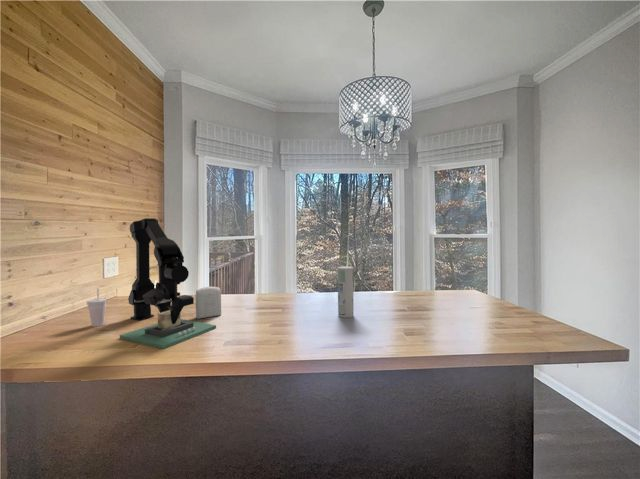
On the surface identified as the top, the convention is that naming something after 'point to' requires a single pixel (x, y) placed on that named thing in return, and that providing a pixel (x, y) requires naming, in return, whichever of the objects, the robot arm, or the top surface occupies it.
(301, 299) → the top surface
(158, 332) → the socket board
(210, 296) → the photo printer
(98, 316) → the smoothie
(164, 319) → the plug
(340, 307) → the spray can
